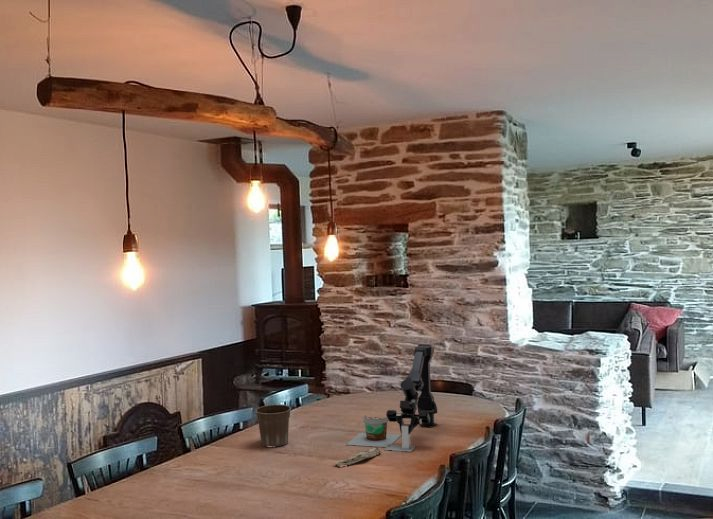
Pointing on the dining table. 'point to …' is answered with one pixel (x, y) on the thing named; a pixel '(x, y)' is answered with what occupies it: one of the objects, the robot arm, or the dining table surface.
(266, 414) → the plant pot
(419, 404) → the robot arm
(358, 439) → the pull board
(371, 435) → the food container
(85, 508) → the dining table surface
